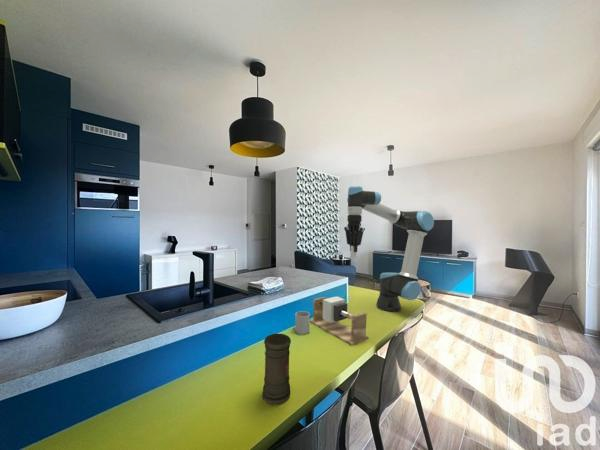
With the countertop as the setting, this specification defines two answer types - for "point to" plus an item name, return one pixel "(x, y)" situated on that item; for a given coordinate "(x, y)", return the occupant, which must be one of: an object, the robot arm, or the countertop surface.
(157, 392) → the countertop surface
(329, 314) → the sleeve
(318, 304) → the stand
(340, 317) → the dark grey square plate
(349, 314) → the pipe
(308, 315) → the cup
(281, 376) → the container
